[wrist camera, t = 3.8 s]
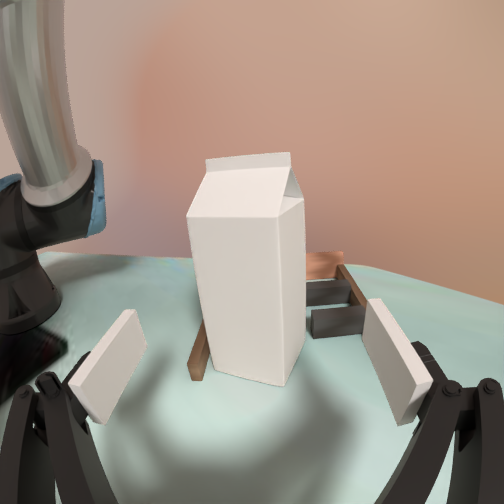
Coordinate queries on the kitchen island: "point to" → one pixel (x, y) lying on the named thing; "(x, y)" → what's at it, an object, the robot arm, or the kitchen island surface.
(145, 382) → the kitchen island surface
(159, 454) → the kitchen island surface
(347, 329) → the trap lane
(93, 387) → the robot arm
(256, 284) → the milk carton
